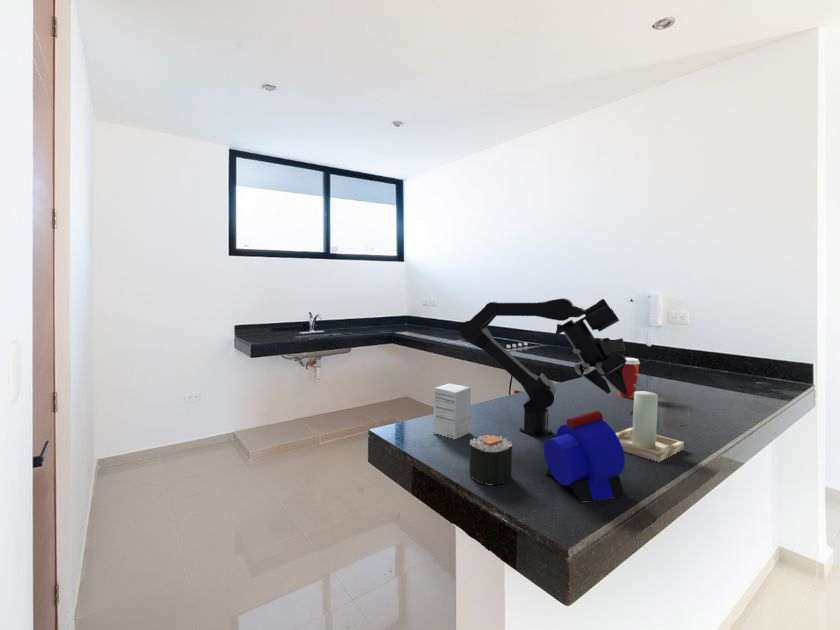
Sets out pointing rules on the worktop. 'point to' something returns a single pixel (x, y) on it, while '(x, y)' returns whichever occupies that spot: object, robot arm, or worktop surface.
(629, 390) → the paper cup
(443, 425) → the supplement box
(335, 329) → the worktop surface
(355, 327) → the worktop surface
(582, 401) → the worktop surface
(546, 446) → the alarm clock
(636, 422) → the sage post
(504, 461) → the sushi
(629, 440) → the birch tray
